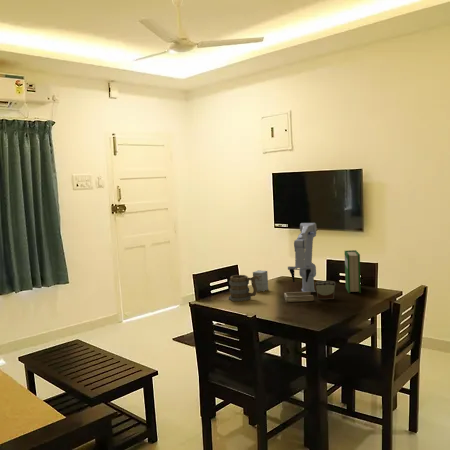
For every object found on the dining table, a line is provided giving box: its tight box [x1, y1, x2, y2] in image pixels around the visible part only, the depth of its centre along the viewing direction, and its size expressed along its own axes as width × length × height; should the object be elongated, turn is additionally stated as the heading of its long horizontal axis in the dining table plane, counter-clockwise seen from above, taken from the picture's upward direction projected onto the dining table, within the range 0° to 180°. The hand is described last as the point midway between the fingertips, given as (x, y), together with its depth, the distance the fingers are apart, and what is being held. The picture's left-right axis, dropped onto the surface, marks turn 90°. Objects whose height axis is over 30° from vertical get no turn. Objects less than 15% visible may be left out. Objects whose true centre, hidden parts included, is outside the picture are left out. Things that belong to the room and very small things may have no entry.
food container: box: [314, 280, 337, 300], centre depth 290 cm, size 12×6×10 cm, turn 84°
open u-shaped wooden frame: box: [283, 291, 314, 303], centre depth 290 cm, size 11×16×3 cm
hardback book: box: [344, 249, 362, 294], centre depth 306 cm, size 18×7×24 cm, turn 172°
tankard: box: [228, 274, 260, 302], centre depth 297 cm, size 20×13×15 cm, turn 65°
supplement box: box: [252, 269, 269, 292], centre depth 319 cm, size 7×7×13 cm
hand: (300, 282), depth 289 cm, fingers open, 7 cm apart
